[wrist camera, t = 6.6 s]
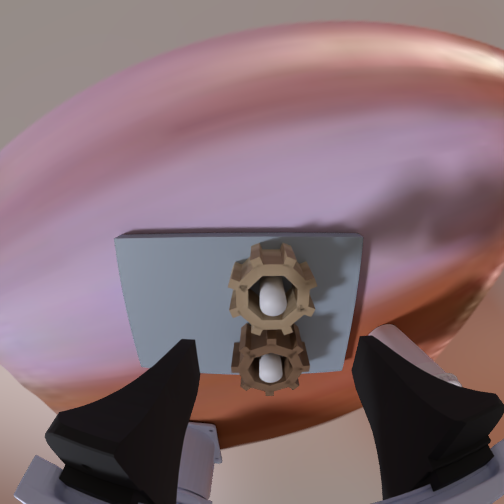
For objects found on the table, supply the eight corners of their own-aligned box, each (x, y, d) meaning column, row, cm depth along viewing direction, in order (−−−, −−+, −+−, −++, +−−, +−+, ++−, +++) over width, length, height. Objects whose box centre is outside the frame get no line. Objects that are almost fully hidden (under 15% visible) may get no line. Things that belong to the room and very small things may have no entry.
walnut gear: (311, 357, 21) (317, 382, 19) (251, 377, 22) (250, 401, 19) (290, 307, 20) (294, 329, 17) (224, 330, 21) (219, 353, 18)
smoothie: (423, 322, 22) (504, 423, 8) (385, 372, 24) (438, 482, 10) (376, 301, 21) (465, 426, 8) (336, 358, 23) (381, 493, 10)
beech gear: (306, 312, 20) (312, 334, 17) (234, 312, 20) (230, 335, 17) (310, 242, 19) (319, 256, 16) (231, 242, 19) (226, 256, 16)
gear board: (338, 362, 23) (351, 397, 19) (145, 359, 23) (128, 392, 19) (357, 233, 19) (383, 251, 15) (121, 234, 20) (89, 252, 15)
